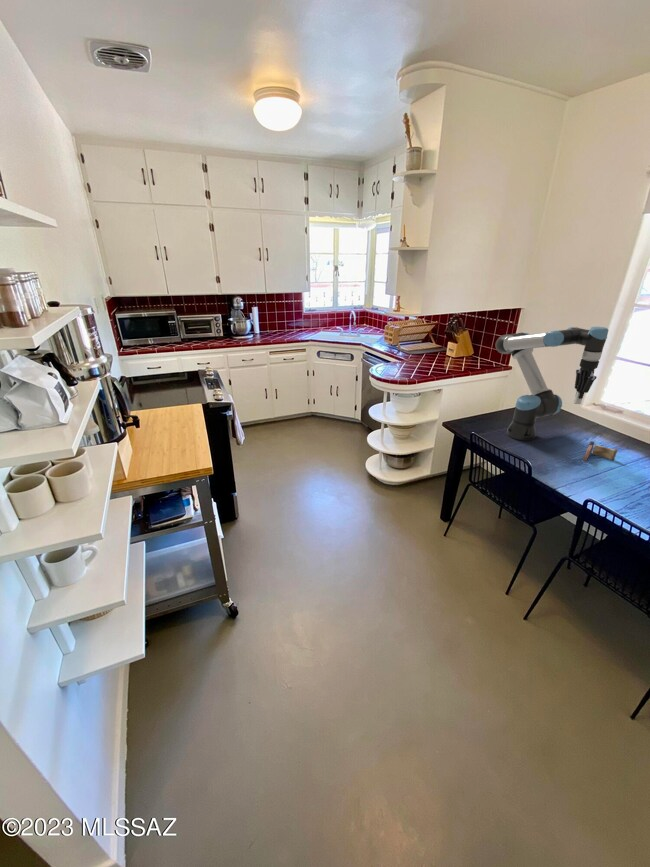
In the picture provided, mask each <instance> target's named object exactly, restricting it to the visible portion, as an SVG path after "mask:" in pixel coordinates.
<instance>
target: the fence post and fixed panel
mask: <svg viewBox="0 0 650 867" xmlns="http://www.w3.org/2000/svg"><path fill="white" fill-rule="evenodd" d="M589 445H593V446H592V449H591V452H590V455H592V454H595V455H594V456H596V455H598V456H597V457H599V456H602V457H605V458H604V459H606V458H609V459H611V460H610V461H614V460H615V458H616V455H617V453H618V449H617V448H614V449H613V448H609V447H606V446H602V445H599V444H595V441H593V440H591V441H590V442H589ZM589 445H588V446H589ZM591 453H592V454H591ZM602 457H601V458H602ZM609 459H608V460H609Z"/></svg>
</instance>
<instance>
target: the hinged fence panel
mask: <svg viewBox="0 0 650 867" xmlns="http://www.w3.org/2000/svg"><path fill="white" fill-rule="evenodd" d="M592 446H593V447H594V445H588V447H587V449H586V452H585V454H584V455H585V457H584V456H583V457H584V461H583V462H587V460H588V458H589V456H590V455H591V454H590V452H591V453H592V451H591V449H592V450H593V448H592ZM589 454H590V455H589Z"/></svg>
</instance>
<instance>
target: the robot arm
mask: <svg viewBox="0 0 650 867" xmlns="http://www.w3.org/2000/svg"><path fill="white" fill-rule="evenodd" d="M608 334H609V329H608V328H607V327H604V326H592V327H590V328H589V329H585V328H581V327H578V326H575V327H573V326H572V327H571V326H570V327H568V328H566V329H561V330H552V331H545V332H537V333H528V332H517V333H510V334H509V333H507V334H503V335H500V336H499V337H498V338H497V340H496V342H495V346H494V347H495V349H496V351H497V352H498V353H500V354H503V355H510V354H511V356H512V359H514V360H516V361H517V364H518V366H519V368H520V370H521V372H522V376H523V377H524V380H525V382H526V384H527V386H528V389H529V390H530V394H524V395H521V396H519V397H518V398H517V400H516V402H515V407H514V413H513V417H512V421H511V423H510V424H509V426H508V427H507V429H506V434H507V436H508V437H510V438H512V439H515V440H519V441H532V440H534V439H536V435H537V432H536V421H537V419H538V418H542V417H551V416H553V415H554V416H555V415H556V414H558V413H559V412H560V411H561V409H562V407H563V400H562V398H561V396H560V395H558V394H554V391H553V390H552V389H550V388H548V386H547V384H546V382H545V379H544V377H543V375H542V372H541V370H540V368H539V366H538V364H537V361H536V359H535V357H534V355H533V352H534V349H537V348H538V349H539V348H548V347H551V348H554V347H559V346H567V345H569V346H570V345H580V346H584V349H583V353H582V356H581V359H580V363H579V367H580V368H579V369H576V370H575V381H574V383H575V384H574V389H575V391H576V393H575V397H574V400H573V401H574V402H573V404H574V405H582V401H583V399H584V395H585V393H589V392H590V390H591V387H592V385H593V384H594V381H595V380H596V379H597V375H594V373H595V370H596V369H597V368H599V364H600V360H601V357H602V354H603V349H604V346H605V344H606V342H607V339H608Z"/></svg>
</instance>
